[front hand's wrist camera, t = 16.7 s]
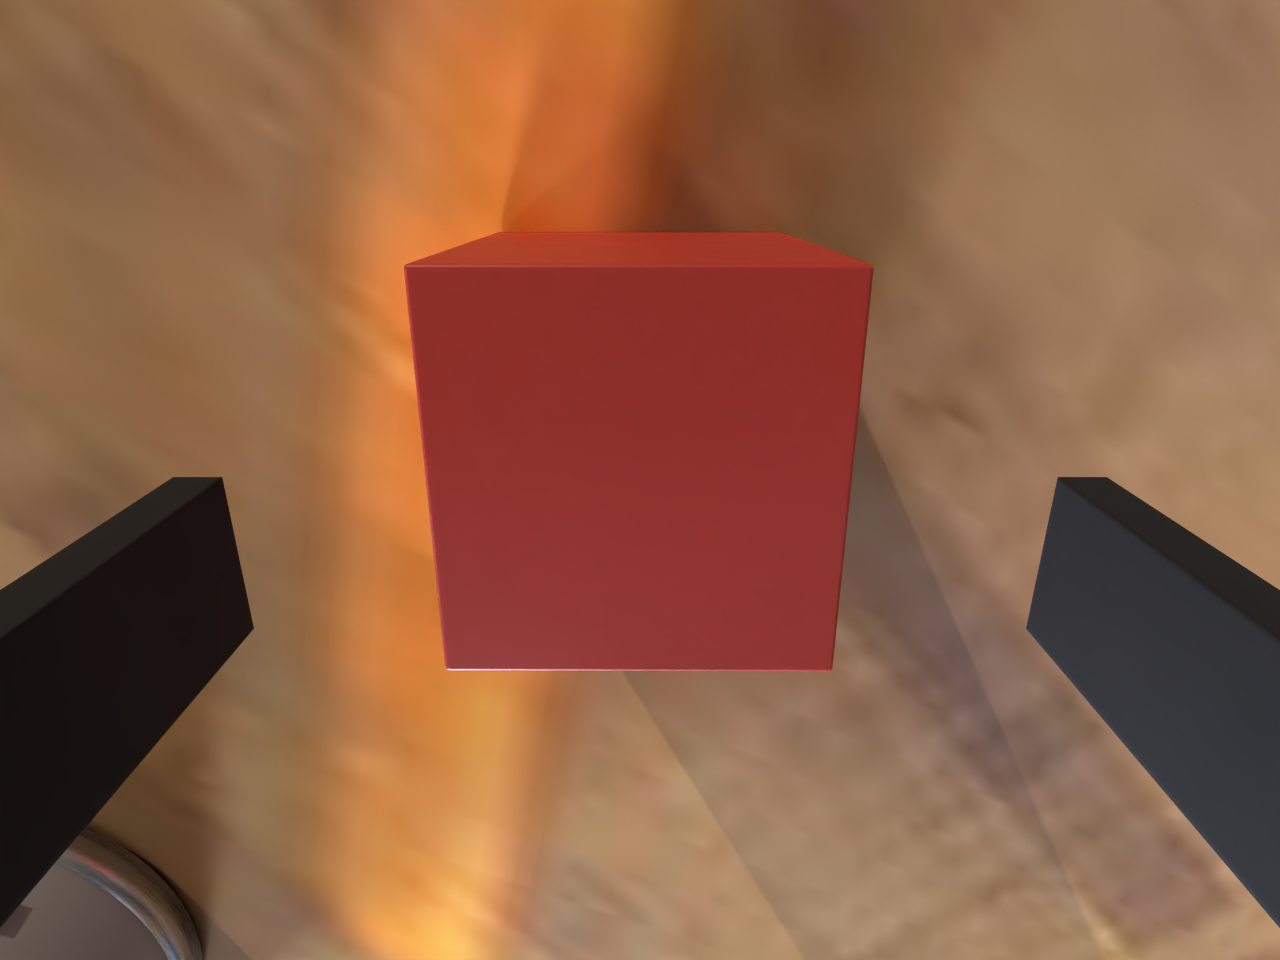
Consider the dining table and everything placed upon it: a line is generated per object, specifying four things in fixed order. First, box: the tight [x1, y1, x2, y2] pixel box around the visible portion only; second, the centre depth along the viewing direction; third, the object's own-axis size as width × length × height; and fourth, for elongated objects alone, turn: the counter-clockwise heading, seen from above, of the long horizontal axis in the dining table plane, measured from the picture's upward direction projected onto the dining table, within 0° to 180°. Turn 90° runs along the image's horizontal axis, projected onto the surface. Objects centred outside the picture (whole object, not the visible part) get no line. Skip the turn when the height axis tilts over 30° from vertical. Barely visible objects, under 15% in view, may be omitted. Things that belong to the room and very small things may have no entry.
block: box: [404, 232, 873, 671], centre depth 21 cm, size 9×9×10 cm
